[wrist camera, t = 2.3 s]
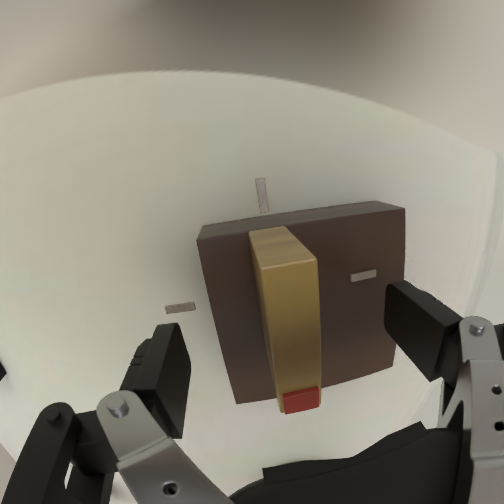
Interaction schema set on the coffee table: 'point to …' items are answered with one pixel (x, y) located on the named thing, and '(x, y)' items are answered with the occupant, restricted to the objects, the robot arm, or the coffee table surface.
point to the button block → (2, 372)
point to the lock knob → (289, 316)
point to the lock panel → (330, 289)
